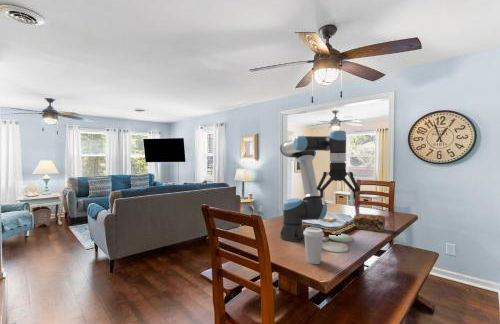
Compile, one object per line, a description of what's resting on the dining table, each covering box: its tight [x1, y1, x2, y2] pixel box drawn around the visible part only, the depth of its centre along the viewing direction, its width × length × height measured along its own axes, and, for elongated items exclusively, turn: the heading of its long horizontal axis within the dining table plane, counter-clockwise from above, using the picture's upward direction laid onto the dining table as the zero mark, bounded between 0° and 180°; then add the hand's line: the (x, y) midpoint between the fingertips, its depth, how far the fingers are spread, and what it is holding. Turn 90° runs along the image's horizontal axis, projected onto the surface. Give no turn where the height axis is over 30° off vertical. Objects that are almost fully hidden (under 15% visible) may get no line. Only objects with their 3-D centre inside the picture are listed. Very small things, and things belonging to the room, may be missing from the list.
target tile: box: [322, 236, 331, 243], centre depth 148 cm, size 7×7×1 cm
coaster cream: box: [322, 241, 349, 254], centre depth 135 cm, size 14×14×1 cm
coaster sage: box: [328, 233, 354, 243], centre depth 150 cm, size 14×14×1 cm
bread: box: [353, 213, 386, 233], centre depth 170 cm, size 19×11×10 cm, turn 55°
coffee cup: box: [303, 226, 325, 265], centre depth 117 cm, size 10×10×15 cm
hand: (337, 204), depth 123 cm, fingers open, 13 cm apart
